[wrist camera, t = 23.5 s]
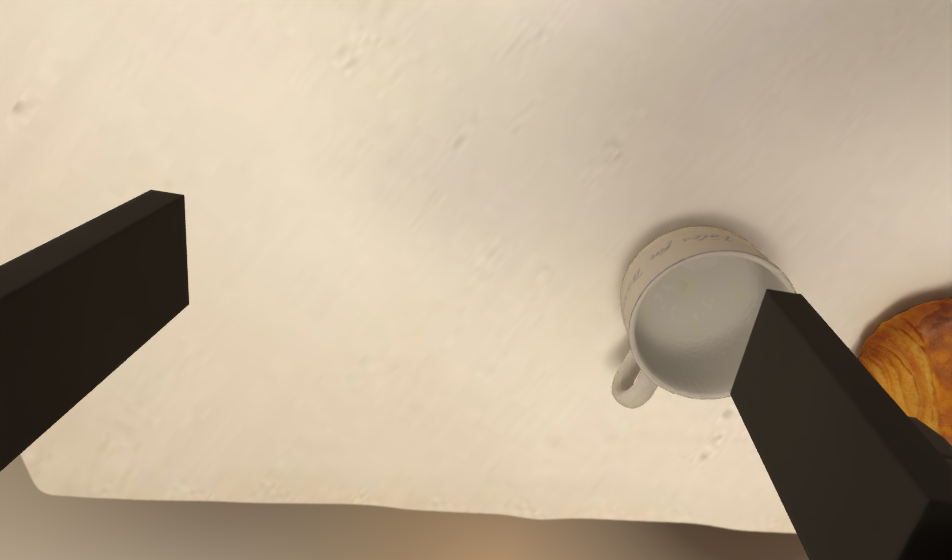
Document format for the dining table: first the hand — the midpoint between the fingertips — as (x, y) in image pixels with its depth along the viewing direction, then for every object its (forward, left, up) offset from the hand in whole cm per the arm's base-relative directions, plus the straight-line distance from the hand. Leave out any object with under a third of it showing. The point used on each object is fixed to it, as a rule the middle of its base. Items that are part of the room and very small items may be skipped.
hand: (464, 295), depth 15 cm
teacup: (-16, +10, -33) cm, 38 cm away
